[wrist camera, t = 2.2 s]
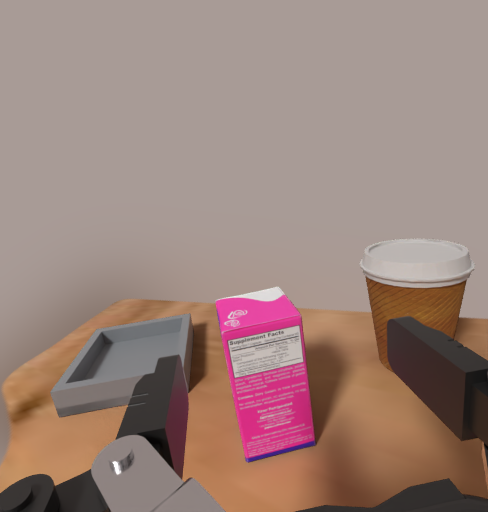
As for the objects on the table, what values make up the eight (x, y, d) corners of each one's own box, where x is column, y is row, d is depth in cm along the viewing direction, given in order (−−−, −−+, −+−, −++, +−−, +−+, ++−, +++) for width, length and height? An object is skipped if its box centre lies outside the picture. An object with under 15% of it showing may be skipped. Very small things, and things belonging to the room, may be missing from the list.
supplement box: (233, 411, 29) (214, 297, 26) (294, 396, 29) (282, 284, 26) (243, 466, 23) (220, 329, 20) (318, 447, 24) (306, 312, 21)
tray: (193, 332, 44) (190, 313, 44) (188, 392, 32) (183, 367, 31) (101, 348, 43) (96, 329, 43) (59, 417, 31) (50, 392, 30)
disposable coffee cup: (352, 374, 31) (346, 261, 28) (374, 330, 39) (372, 237, 36) (467, 404, 26) (476, 269, 23) (468, 346, 33) (475, 238, 30)
